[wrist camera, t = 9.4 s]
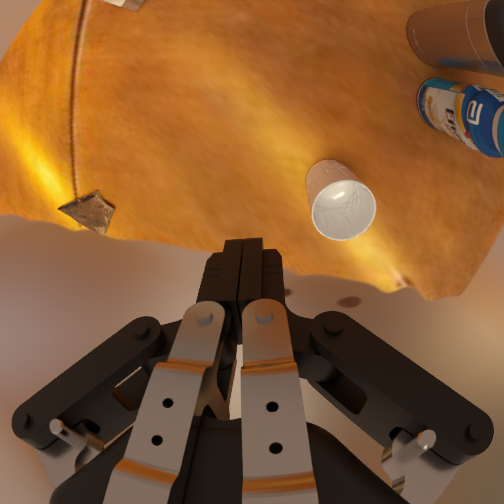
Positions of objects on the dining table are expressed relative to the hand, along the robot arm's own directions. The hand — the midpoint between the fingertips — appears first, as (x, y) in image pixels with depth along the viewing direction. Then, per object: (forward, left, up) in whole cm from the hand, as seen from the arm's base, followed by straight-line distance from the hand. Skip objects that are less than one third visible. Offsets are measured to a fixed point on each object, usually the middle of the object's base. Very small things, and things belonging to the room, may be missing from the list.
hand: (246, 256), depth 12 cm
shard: (+32, -1, -30) cm, 44 cm away
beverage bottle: (-27, +5, -29) cm, 40 cm away
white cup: (-6, +11, -29) cm, 32 cm away
